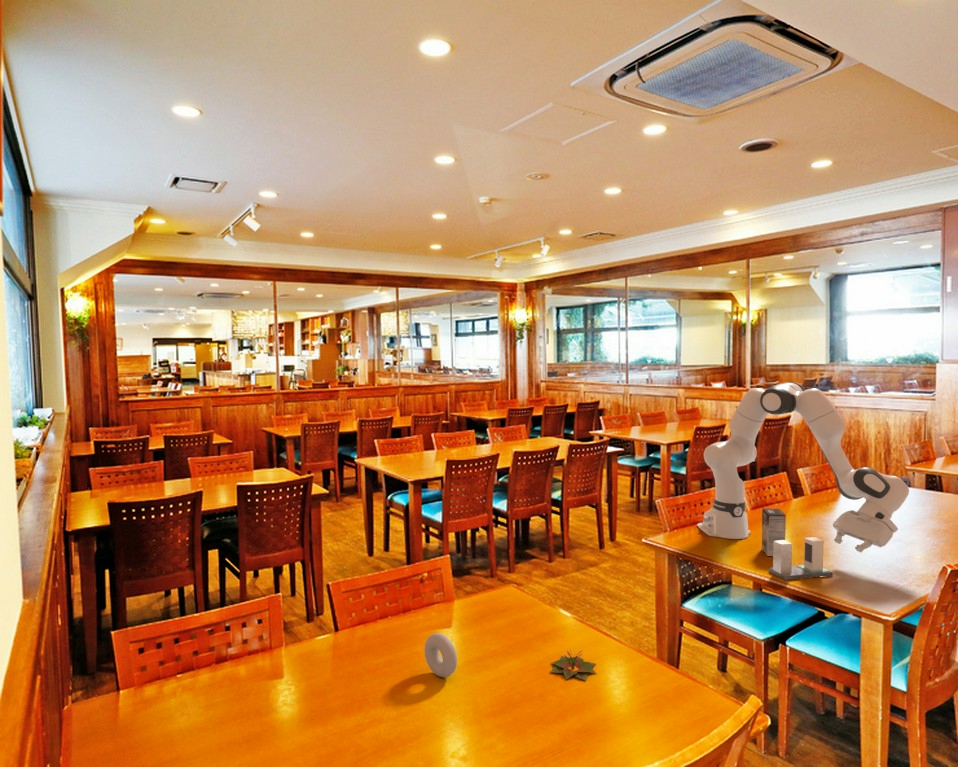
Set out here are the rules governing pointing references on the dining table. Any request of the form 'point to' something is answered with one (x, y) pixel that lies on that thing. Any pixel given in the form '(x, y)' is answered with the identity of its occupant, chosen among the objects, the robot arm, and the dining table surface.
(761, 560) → the dining table surface
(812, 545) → the white box
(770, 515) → the coffee box
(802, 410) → the robot arm
